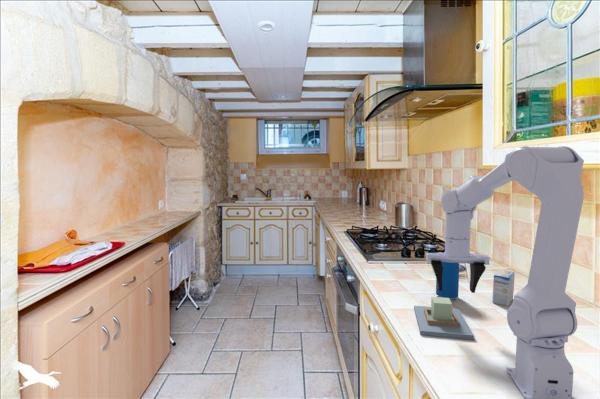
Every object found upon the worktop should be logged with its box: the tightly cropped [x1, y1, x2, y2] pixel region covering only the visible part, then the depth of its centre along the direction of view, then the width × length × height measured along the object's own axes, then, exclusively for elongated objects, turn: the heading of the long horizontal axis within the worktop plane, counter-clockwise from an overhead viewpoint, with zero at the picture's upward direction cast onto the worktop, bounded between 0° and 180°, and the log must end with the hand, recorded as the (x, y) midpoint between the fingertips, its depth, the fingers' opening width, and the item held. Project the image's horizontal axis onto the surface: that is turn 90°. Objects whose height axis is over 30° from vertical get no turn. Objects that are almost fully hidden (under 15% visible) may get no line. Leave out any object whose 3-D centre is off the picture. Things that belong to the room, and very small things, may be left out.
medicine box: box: [492, 269, 515, 307], centre depth 105 cm, size 8×4×9 cm, turn 141°
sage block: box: [430, 296, 453, 321], centre depth 90 cm, size 4×4×5 cm
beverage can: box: [435, 262, 460, 301], centre depth 108 cm, size 6×6×12 cm
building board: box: [413, 305, 475, 341], centre depth 90 cm, size 16×12×2 cm
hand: (455, 290), depth 88 cm, fingers open, 7 cm apart
